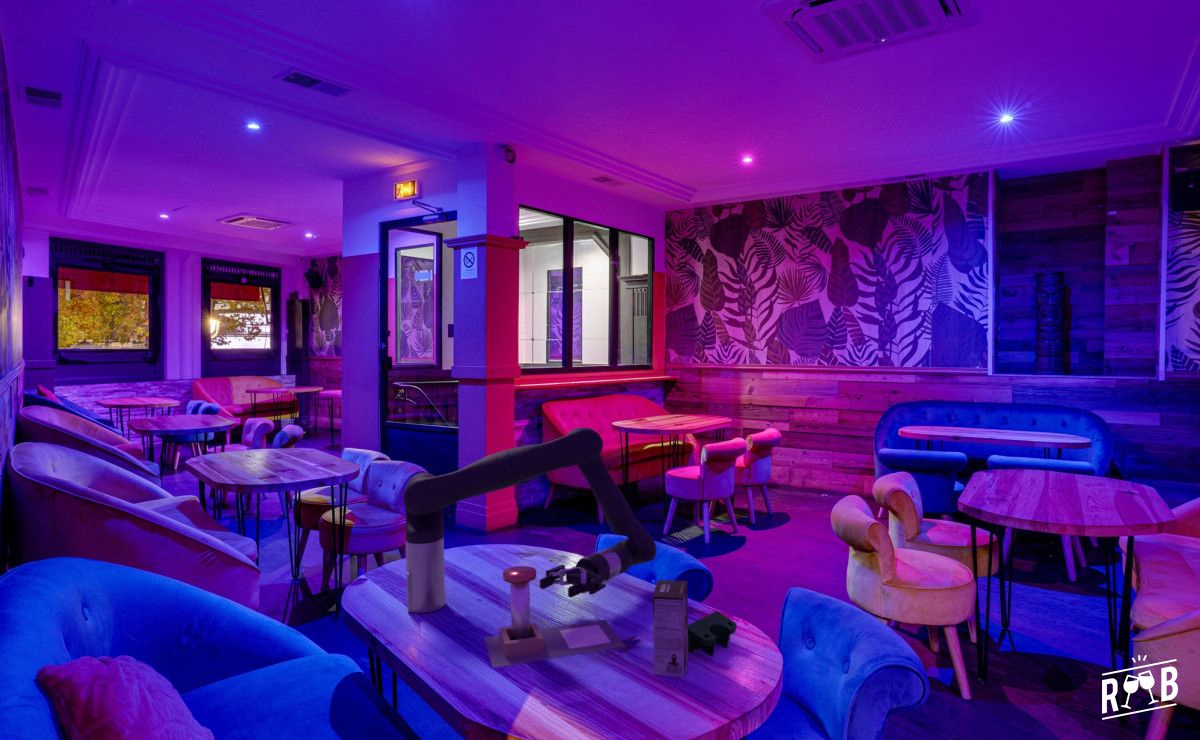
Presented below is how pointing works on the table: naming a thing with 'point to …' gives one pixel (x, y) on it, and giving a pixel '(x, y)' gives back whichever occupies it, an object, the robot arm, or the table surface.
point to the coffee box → (670, 628)
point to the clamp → (710, 632)
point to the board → (551, 643)
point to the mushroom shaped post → (520, 599)
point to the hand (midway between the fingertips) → (554, 588)
